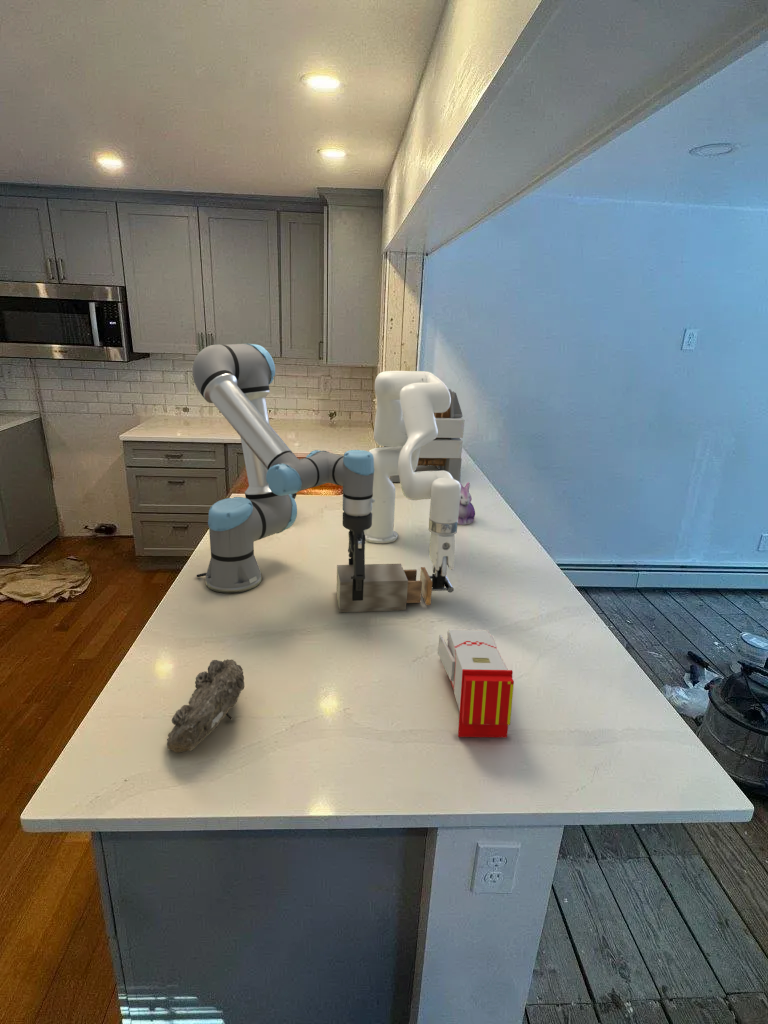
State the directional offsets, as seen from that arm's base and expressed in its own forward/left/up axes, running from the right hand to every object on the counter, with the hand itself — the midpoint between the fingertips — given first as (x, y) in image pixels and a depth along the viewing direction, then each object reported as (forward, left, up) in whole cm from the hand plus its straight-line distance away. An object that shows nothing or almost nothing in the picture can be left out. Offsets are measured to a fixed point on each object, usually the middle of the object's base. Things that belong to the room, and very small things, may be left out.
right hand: (437, 587), depth 155 cm
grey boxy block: (-17, -8, -4) cm, 19 cm away
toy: (+15, -37, -4) cm, 40 cm away
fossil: (-31, -61, -4) cm, 69 cm away
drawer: (-7, -3, -3) cm, 8 cm away
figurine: (-3, +64, -4) cm, 64 cm away
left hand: (-20, -10, 0) cm, 23 cm away
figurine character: (-66, +42, -4) cm, 78 cm away
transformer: (-34, +122, -4) cm, 127 cm away
